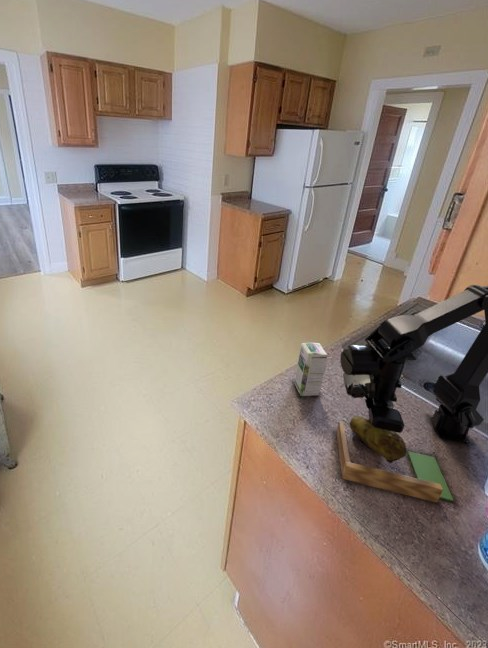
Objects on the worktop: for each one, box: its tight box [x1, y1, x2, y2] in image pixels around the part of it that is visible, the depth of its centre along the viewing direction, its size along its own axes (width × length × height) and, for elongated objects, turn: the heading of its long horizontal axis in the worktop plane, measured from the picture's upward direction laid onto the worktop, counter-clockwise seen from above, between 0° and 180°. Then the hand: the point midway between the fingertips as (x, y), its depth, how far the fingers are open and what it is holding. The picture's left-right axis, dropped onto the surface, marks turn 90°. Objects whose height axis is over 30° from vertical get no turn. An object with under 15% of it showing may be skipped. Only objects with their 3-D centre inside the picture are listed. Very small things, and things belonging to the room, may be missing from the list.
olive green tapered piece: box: [349, 415, 408, 464], centre depth 76 cm, size 8×13×8 cm, turn 3°
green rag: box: [407, 451, 454, 502], centre depth 71 cm, size 6×10×1 cm, turn 165°
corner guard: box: [335, 421, 443, 503], centre depth 72 cm, size 18×12×4 cm
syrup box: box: [293, 342, 329, 397], centre depth 92 cm, size 6×6×14 cm
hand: (371, 420), depth 81 cm, fingers closed
